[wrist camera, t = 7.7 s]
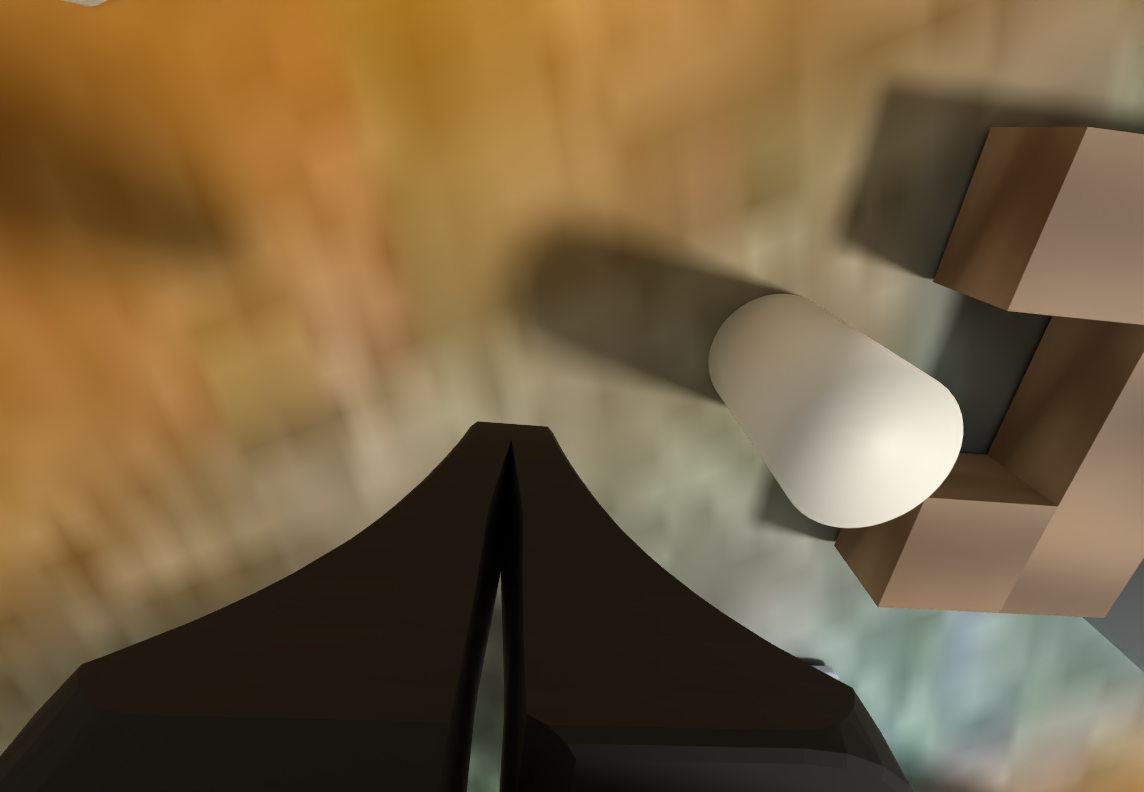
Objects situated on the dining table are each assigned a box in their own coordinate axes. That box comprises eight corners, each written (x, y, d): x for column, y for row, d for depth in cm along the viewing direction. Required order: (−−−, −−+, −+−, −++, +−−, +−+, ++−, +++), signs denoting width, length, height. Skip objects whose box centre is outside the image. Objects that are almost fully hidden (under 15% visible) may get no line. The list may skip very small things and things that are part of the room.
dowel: (818, 415, 19) (929, 529, 14) (699, 411, 19) (764, 526, 13) (849, 296, 17) (990, 372, 12) (719, 290, 17) (803, 365, 12)
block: (1034, 557, 22) (1104, 618, 19) (834, 545, 21) (877, 607, 19) (1254, 162, 16) (1398, 169, 14) (991, 126, 15) (1088, 126, 13)
